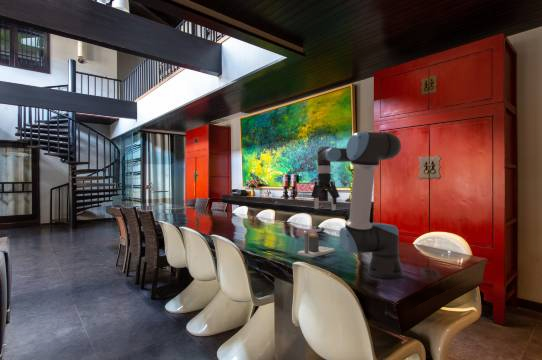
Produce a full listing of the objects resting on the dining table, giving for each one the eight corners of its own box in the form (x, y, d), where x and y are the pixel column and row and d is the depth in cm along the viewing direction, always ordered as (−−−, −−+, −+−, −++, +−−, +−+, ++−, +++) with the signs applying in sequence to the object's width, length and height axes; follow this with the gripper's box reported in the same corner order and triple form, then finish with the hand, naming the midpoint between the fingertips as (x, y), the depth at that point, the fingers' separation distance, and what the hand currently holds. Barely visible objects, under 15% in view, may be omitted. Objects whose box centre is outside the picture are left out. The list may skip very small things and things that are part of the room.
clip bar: (306, 234, 167) (306, 231, 167) (302, 233, 169) (302, 231, 169) (325, 231, 178) (325, 228, 178) (320, 230, 181) (320, 227, 181)
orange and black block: (314, 254, 171) (313, 235, 171) (308, 253, 174) (308, 234, 174) (318, 253, 173) (318, 234, 173) (313, 252, 176) (313, 233, 176)
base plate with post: (312, 259, 164) (311, 235, 164) (297, 255, 172) (297, 233, 172) (335, 253, 178) (334, 230, 178) (320, 250, 186) (320, 229, 186)
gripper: (345, 172, 165) (346, 210, 165) (313, 173, 186) (314, 207, 185) (336, 172, 161) (336, 211, 161) (305, 173, 181) (305, 208, 181)
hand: (324, 209), depth 173 cm, fingers open, 13 cm apart
